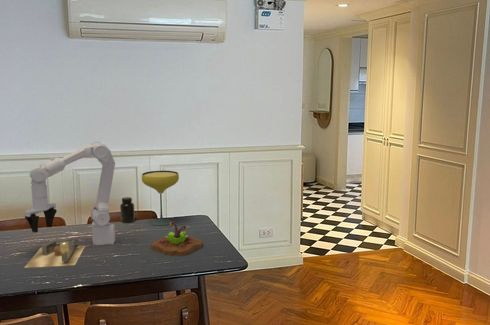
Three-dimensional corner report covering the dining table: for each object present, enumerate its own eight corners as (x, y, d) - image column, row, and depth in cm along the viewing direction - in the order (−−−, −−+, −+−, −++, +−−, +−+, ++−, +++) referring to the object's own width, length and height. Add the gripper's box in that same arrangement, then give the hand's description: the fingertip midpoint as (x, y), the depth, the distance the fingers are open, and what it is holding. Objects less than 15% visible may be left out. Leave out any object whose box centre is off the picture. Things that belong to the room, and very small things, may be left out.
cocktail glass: (144, 229, 226) (143, 177, 222) (141, 219, 243) (140, 171, 239) (182, 226, 231) (181, 176, 227) (177, 216, 248) (175, 169, 244)
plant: (174, 237, 214) (173, 213, 213) (209, 245, 204) (208, 220, 203) (143, 250, 198) (142, 224, 196) (179, 259, 188) (179, 232, 186)
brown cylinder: (66, 252, 191) (66, 245, 191) (64, 255, 188) (63, 248, 187) (56, 252, 191) (55, 245, 190) (53, 256, 187) (53, 248, 186)
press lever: (70, 245, 197) (69, 229, 196) (79, 244, 197) (78, 228, 196) (59, 261, 178) (58, 244, 177) (69, 261, 178) (68, 243, 177)
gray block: (56, 250, 193) (56, 241, 192) (46, 255, 187) (46, 245, 187) (52, 250, 194) (52, 240, 193) (42, 255, 188) (41, 245, 187)
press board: (85, 247, 200) (85, 245, 199) (74, 267, 178) (74, 265, 177) (40, 249, 197) (40, 247, 197) (24, 270, 175) (24, 267, 175)
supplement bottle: (129, 218, 244) (128, 196, 242) (137, 220, 240) (136, 197, 238) (118, 221, 239) (117, 198, 237) (126, 223, 235) (125, 200, 233)
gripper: (45, 192, 197) (47, 223, 199) (17, 199, 184) (20, 233, 186) (59, 193, 195) (61, 225, 197) (31, 201, 181) (34, 235, 184)
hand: (42, 229), depth 191 cm, fingers open, 7 cm apart
